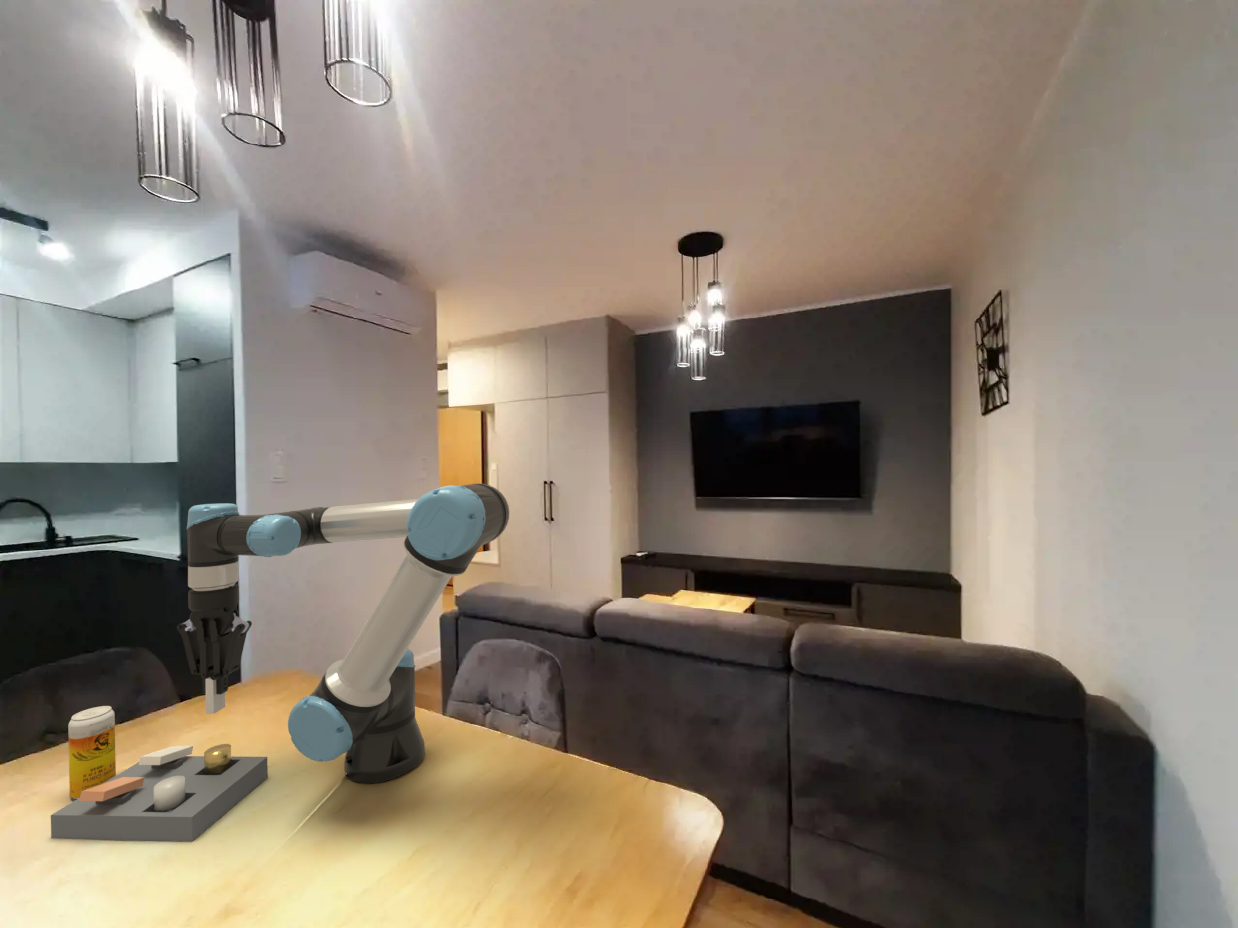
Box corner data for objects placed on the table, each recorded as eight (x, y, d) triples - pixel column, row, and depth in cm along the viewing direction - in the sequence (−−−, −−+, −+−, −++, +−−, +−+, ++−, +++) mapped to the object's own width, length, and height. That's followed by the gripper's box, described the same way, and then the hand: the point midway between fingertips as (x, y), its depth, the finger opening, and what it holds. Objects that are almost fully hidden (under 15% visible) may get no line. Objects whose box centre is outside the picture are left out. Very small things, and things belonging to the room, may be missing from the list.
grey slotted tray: (267, 776, 101) (267, 751, 101) (192, 841, 84) (191, 810, 84) (149, 775, 102) (148, 750, 102) (51, 839, 85) (50, 808, 85)
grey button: (191, 795, 89) (191, 775, 89) (170, 811, 85) (170, 790, 85) (169, 795, 90) (168, 775, 90) (147, 811, 86) (147, 790, 86)
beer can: (86, 804, 93) (84, 721, 93) (60, 800, 95) (59, 719, 94) (124, 783, 99) (123, 706, 99) (100, 780, 100) (98, 703, 100)
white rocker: (191, 753, 101) (193, 745, 101) (159, 764, 94) (161, 756, 95) (172, 753, 101) (173, 745, 101) (138, 764, 94) (140, 756, 95)
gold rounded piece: (236, 761, 99) (236, 743, 99) (219, 774, 95) (219, 755, 95) (216, 761, 100) (216, 743, 100) (198, 774, 96) (198, 755, 96)
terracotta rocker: (142, 785, 91) (144, 777, 91) (102, 801, 84) (104, 791, 85) (120, 785, 91) (122, 776, 92) (79, 800, 84) (81, 791, 85)
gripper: (262, 581, 101) (263, 701, 101) (197, 581, 101) (199, 700, 101) (231, 591, 93) (233, 720, 93) (162, 590, 94) (164, 719, 94)
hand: (215, 710), depth 97 cm, fingers closed
